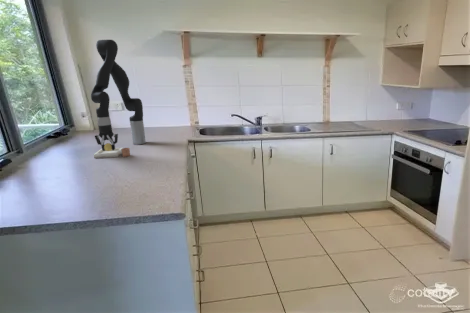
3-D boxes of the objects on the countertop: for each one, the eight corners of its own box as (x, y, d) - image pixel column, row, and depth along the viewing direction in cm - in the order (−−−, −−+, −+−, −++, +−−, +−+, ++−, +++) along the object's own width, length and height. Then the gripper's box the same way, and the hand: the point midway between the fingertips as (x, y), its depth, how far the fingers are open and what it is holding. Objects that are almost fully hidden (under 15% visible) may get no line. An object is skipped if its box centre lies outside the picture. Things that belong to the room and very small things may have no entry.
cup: (123, 155, 176) (122, 148, 175) (131, 154, 177) (130, 147, 175) (121, 157, 172) (120, 149, 170) (129, 156, 172) (128, 149, 171)
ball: (106, 150, 180) (104, 142, 178) (114, 149, 180) (112, 142, 179) (103, 152, 175) (102, 144, 174) (111, 151, 176) (110, 143, 174)
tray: (101, 152, 184) (101, 148, 184) (123, 151, 186) (123, 147, 185) (94, 158, 171) (93, 154, 170) (117, 156, 173) (117, 152, 172)
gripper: (118, 122, 177) (122, 148, 182) (94, 123, 176) (99, 149, 180) (114, 124, 170) (118, 151, 175) (90, 125, 169) (95, 152, 173)
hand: (108, 150), depth 178 cm, fingers closed on ball, 5 cm apart
